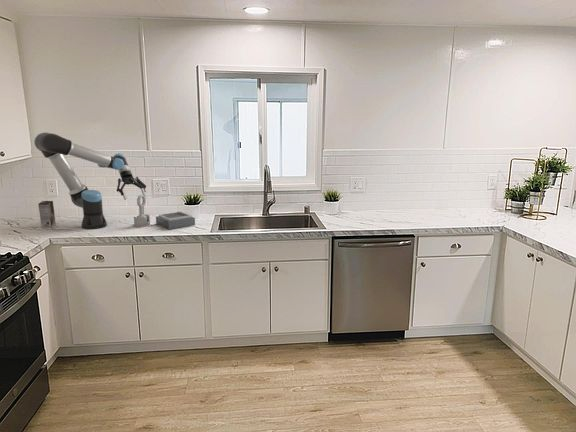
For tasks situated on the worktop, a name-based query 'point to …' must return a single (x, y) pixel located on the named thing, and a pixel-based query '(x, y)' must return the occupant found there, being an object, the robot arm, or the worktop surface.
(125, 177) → the robot arm
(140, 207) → the engine component
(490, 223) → the worktop surface
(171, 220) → the grey square tray
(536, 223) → the worktop surface
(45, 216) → the coffee box
